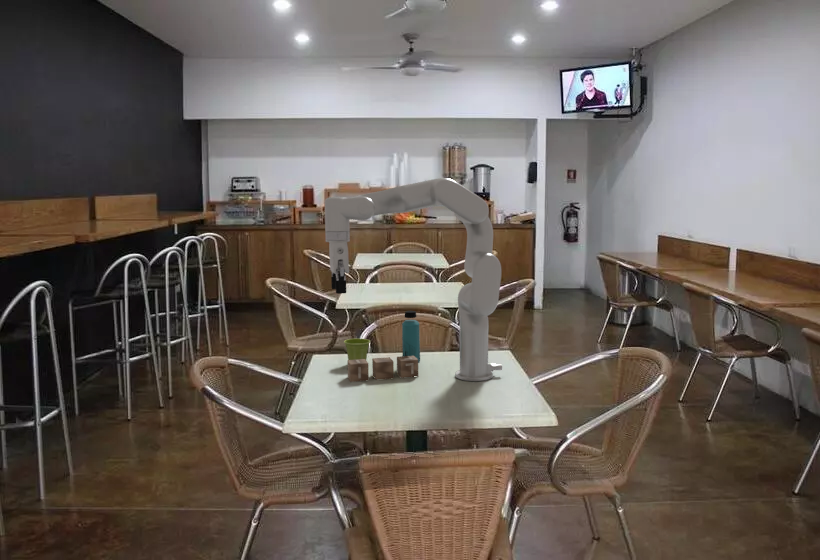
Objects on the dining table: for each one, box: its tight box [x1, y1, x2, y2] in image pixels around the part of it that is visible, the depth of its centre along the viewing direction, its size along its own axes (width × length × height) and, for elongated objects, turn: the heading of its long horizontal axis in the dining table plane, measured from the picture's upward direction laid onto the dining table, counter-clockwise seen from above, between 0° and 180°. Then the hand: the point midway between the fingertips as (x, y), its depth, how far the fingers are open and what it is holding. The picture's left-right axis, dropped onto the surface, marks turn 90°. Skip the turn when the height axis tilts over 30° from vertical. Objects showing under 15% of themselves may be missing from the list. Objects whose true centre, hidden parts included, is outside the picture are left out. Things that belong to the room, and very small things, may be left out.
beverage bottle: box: [401, 310, 421, 364], centre depth 253 cm, size 6×7×20 cm
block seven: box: [396, 355, 419, 379], centre depth 242 cm, size 6×6×6 cm
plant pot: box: [343, 338, 371, 361], centre depth 257 cm, size 9×9×9 cm
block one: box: [347, 359, 370, 383], centre depth 238 cm, size 6×6×6 cm
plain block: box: [371, 356, 395, 381], centre depth 240 cm, size 6×6×6 cm
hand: (338, 291), depth 225 cm, fingers open, 9 cm apart
